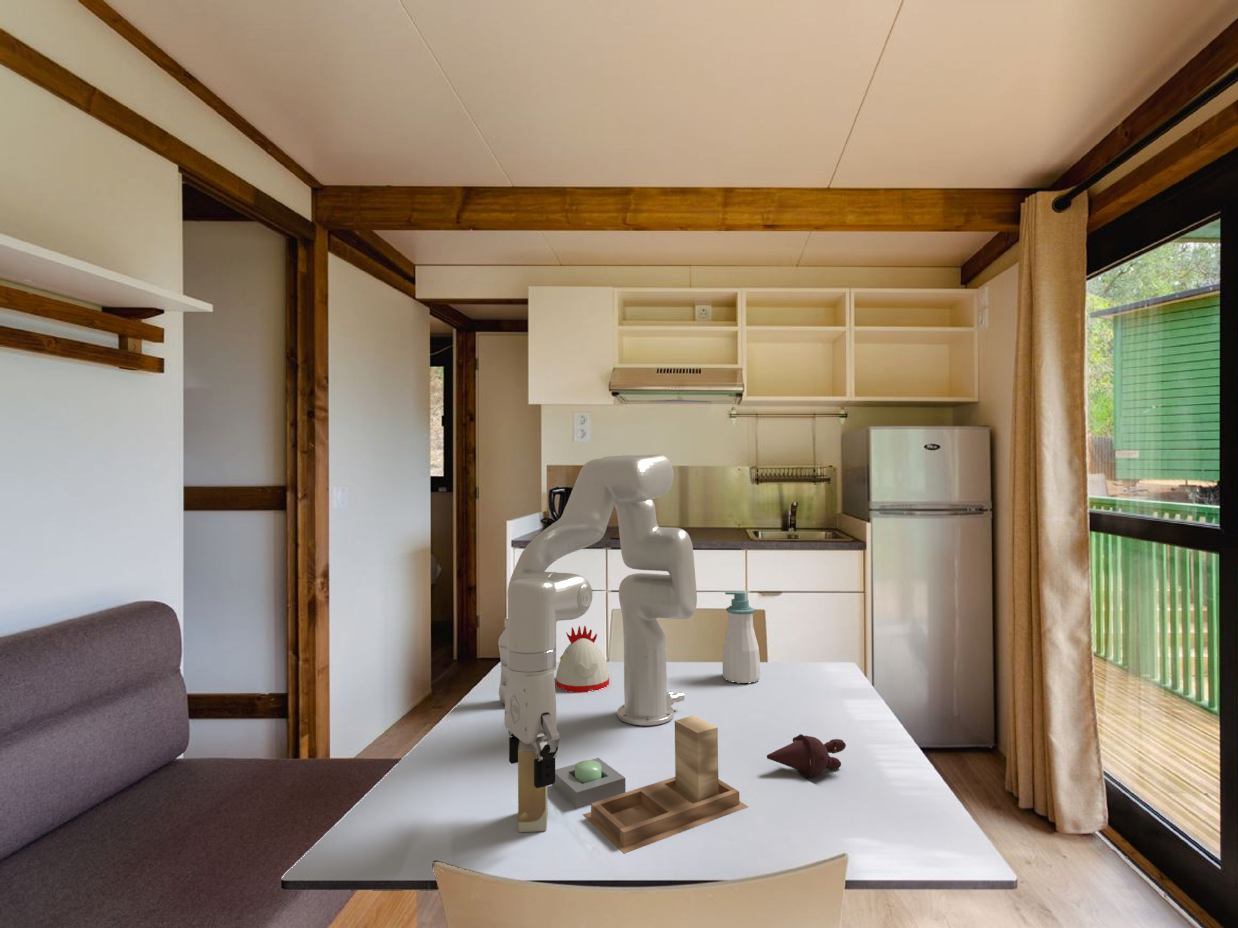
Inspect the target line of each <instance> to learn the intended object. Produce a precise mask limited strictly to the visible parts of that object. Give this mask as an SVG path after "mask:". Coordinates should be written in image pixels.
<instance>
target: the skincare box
mask: <svg viewBox="0 0 1238 928" xmlns="http://www.w3.org/2000/svg"><path fill="white" fill-rule="evenodd" d="M541 736H545V735H544V734H541V735H538V736H537V737H541ZM546 744H547V742H543V743H540V746H541V750H542V749H543V747H544V746H545V745H546ZM534 759H537V757H536V753H535V749H534V746H533V742H531V744H528V745H527V744H525V743H523V742H522V741H521V740H519V746H518V763H517V787H518V788H517V794H518V795H517V800H518V801H517V806H518V807H517V811H518V813H517V822H518V823H517V825H518V826H517V830H518V833H529V832H530V833H531V832H546V831H547V830H548V814H549V813H548V809H549V808H548V786H544V787H541V788H536V787H535V786H534Z"/></svg>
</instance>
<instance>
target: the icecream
mask: <svg viewBox="0 0 1238 928" xmlns="http://www.w3.org/2000/svg"><path fill="white" fill-rule="evenodd" d="M846 747H847V744H846V743H845V742H844V740H843V739H839V738H833V739H830V740H829V741H827V742H825V743H824V744H823V742H822V741H821V740H820V739H819V738H817V737H815V736H809V735H803V734H801V733H800V734H799V735H797V736H794V737H793V738H792V742H791V743H789V744H787V745H785V746H783V747H781V748H779V749H777V750H775V751H772V752H770V753H768V754H767V755H766V759H767V760H770V761H773V762H776V763H779V764H781V765H783V766H787V767H790V768H792V769H795V770H797V772H798V774H800V775H802V776H803V777H805V778H806V779H808V778H810V777H811V776H815V775H816V776H817V775H821V774H823V772H824V771H826V770H825V769H828V770H837V769H839V768H840V767H841V766H842V762H841V761H840V759H839V758H837V757H834V756H830V754H837V753H841V752H843V751H844V750H845V749H846Z"/></svg>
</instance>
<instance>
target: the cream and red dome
mask: <svg viewBox="0 0 1238 928" xmlns="http://www.w3.org/2000/svg"><path fill="white" fill-rule="evenodd" d="M592 632H593V630H592V629H590V630H589V631H587V627H586V625H584V626H583V629H582V630H581V626H580V625H578V628H577V633H575V630H574V628H573V627H571V632H570V633H571V634H568V632H565V634H566V636H567V638H568V641H569V644H568V646H567V647H566V648H565V649H564V651H563V654H562V655H561V656H560V657H559V663H558V667H557V669H556V670H557V671H556V674H555V675H556V676H555V686H556V685H557V686H556V688H558V687H559V688H561V689H563V690H562V691H564V690H567V691H566V692H569V691H572V692H571V693H589V692H588V691H592V690H598V691H600V690H599V689H601V688H604V687H606V688H607V687H608V686H609V685H610V673H609V672H610V671H609V668H608V664H607V662H606V659H605V656H604V653H602V651H601V649H600V648H599V647H598V645H597V644H596V643H595V641H596V640H597V637H598V633H595V635H594V636H593V637H592ZM607 685H608V686H607ZM559 688H558V689H559ZM561 689H560V690H561ZM604 689H605V688H604ZM601 690H602V689H601ZM592 692H593V691H592Z"/></svg>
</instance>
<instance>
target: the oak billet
mask: <svg viewBox="0 0 1238 928" xmlns="http://www.w3.org/2000/svg"><path fill="white" fill-rule="evenodd" d="M718 732H719V731H718V726H715V725H714V724H711V723H710V722H708V721H706V720H704V719H701V718H699V717H697V716H695V715H690V716H688V717H684V718H680V719H676V720H674V758H675V759H674V761H675V762H674V772H675V774H674V775H675V776H674V777H675V783H676V792H677V793H678V794H679V795H681V796H682V797H684V798H685V799H687V800H688V801H690V802H691V803H692V804H694V803H696V802H699V801H702V800H705V799H708V798H711V797H714V796H716V795H719V783H718V779H719V742H718V741H719V740H718V739H719V738H718V737H719V736H718V735H719V734H718Z"/></svg>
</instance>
